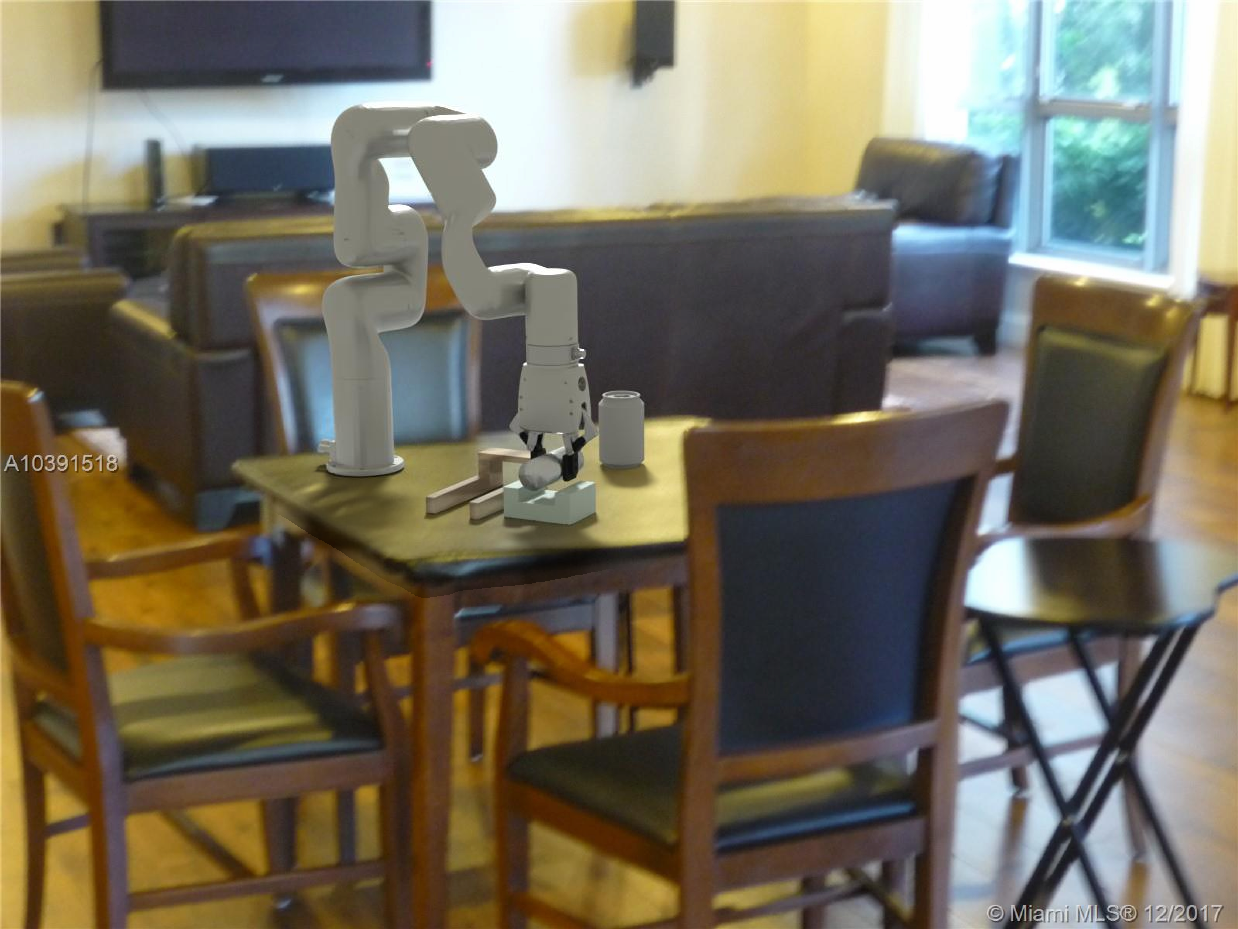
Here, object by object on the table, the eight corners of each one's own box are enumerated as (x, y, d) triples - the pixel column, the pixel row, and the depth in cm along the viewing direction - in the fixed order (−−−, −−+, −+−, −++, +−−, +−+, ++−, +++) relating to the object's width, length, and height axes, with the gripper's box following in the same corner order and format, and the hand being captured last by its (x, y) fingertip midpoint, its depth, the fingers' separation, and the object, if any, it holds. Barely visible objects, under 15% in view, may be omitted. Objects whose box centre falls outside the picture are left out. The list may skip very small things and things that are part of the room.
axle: (543, 494, 245) (546, 464, 243) (517, 487, 246) (519, 458, 245) (582, 476, 255) (585, 447, 254) (556, 469, 257) (559, 441, 256)
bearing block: (423, 512, 253) (422, 474, 251) (492, 483, 270) (491, 447, 269) (481, 520, 248) (480, 481, 247) (547, 489, 266) (547, 453, 264)
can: (646, 460, 285) (646, 389, 282) (642, 470, 278) (642, 397, 275) (601, 459, 286) (600, 388, 283) (596, 469, 279) (595, 397, 276)
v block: (503, 516, 250) (503, 486, 249) (530, 504, 257) (530, 475, 256) (570, 525, 245) (570, 494, 244) (595, 512, 252) (595, 482, 251)
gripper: (616, 354, 247) (617, 478, 251) (514, 347, 254) (517, 467, 258) (592, 363, 240) (594, 489, 244) (488, 355, 247) (492, 478, 252)
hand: (554, 476), depth 251 cm, fingers closed on axle, 4 cm apart
